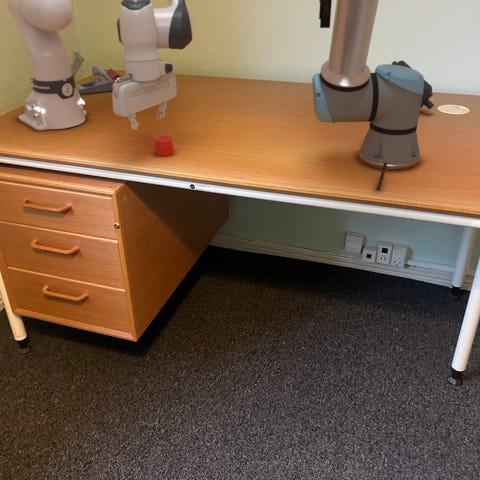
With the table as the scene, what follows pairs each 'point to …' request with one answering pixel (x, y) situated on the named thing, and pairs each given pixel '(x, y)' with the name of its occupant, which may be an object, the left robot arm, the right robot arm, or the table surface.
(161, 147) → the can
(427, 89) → the tool
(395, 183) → the table surface
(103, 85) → the hand plane
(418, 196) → the table surface
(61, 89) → the left robot arm
